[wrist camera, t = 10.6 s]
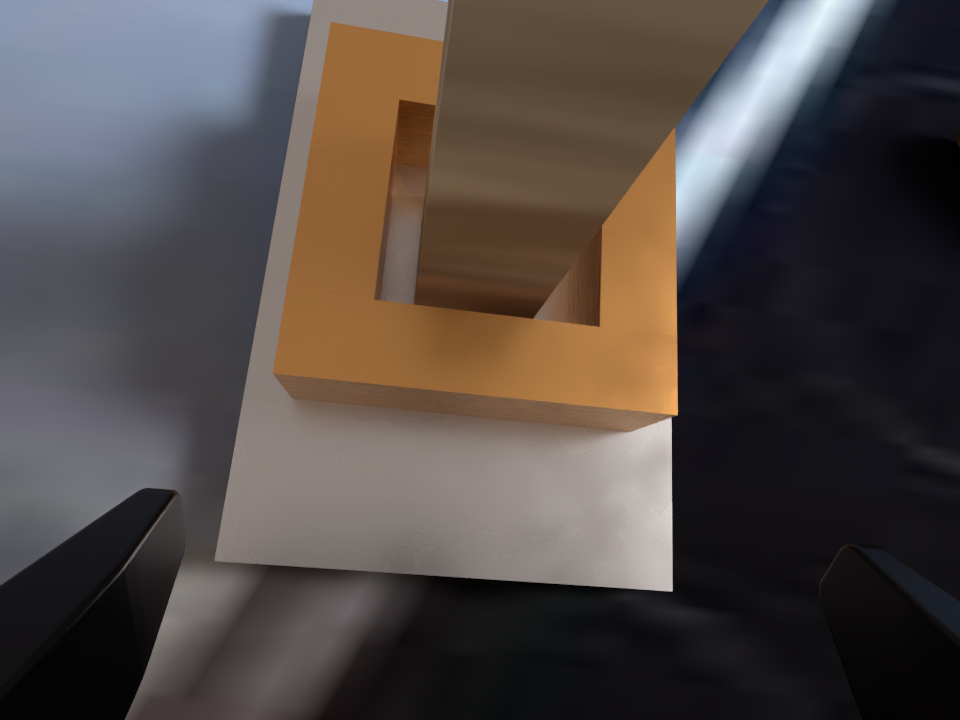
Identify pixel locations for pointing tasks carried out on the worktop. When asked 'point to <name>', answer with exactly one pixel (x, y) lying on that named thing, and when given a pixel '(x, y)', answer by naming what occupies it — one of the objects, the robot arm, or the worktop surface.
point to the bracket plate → (427, 458)
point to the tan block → (551, 133)
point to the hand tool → (957, 138)
